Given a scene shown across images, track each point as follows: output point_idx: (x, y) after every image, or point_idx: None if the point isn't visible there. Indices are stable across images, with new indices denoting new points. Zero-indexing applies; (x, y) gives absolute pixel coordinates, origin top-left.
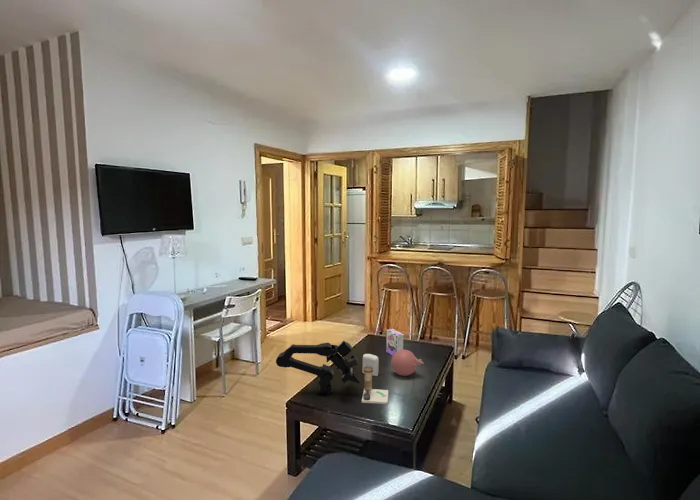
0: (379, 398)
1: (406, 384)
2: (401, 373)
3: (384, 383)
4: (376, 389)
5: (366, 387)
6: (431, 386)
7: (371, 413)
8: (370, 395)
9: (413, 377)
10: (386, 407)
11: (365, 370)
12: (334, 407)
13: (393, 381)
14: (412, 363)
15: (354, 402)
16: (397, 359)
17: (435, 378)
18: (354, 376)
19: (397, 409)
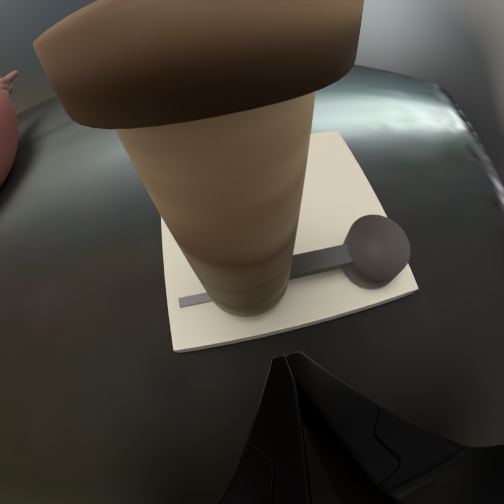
0: (313, 176)
1: (75, 137)
2: (8, 158)
3: (53, 230)
4: (163, 235)
5: (291, 263)
6: None
7: (469, 197)
8: (296, 250)
9: (25, 145)
10: (372, 141)
11: (362, 6)
12: None
13: (38, 195)
14: (2, 90)
15: (433, 347)
16: None
17: (50, 98)
18: (442, 443)
19: (356, 104)
